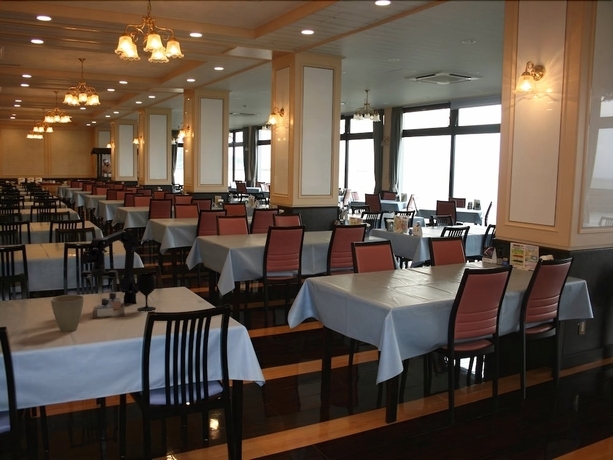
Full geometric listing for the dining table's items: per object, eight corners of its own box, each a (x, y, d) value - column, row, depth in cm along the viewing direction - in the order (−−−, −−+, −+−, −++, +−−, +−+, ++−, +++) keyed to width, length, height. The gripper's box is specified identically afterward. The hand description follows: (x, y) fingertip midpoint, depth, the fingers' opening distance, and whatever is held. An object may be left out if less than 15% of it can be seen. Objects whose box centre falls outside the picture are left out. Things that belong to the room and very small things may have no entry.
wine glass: (133, 310, 314) (132, 275, 312) (146, 306, 324) (145, 272, 322) (146, 312, 310) (146, 277, 308) (160, 308, 319) (159, 274, 317)
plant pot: (51, 327, 277) (50, 296, 276) (84, 324, 283) (83, 293, 282) (51, 335, 264) (50, 302, 262) (85, 332, 270) (84, 300, 268)
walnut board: (123, 305, 325) (123, 304, 325) (125, 316, 300) (125, 315, 300) (94, 307, 319) (94, 306, 319) (93, 318, 295) (93, 317, 295)
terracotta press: (120, 305, 322) (120, 298, 322) (120, 308, 315) (120, 301, 314) (105, 306, 319) (105, 299, 319) (105, 309, 312) (105, 302, 312)
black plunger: (108, 312, 305) (108, 298, 304) (108, 313, 301) (108, 299, 301) (101, 312, 304) (101, 298, 303) (101, 314, 300) (101, 299, 299)
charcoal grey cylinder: (116, 305, 319) (115, 292, 318) (116, 307, 316) (115, 293, 315) (109, 306, 318) (109, 292, 317) (109, 307, 315) (109, 294, 314)
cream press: (113, 311, 308) (112, 304, 307) (113, 315, 300) (113, 307, 300) (97, 312, 305) (97, 305, 305) (97, 316, 298) (97, 308, 297)
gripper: (76, 264, 298) (78, 292, 300) (112, 263, 300) (113, 292, 302) (83, 260, 309) (84, 288, 311) (117, 260, 311) (118, 287, 313)
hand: (100, 289), depth 309 cm, fingers open, 9 cm apart
